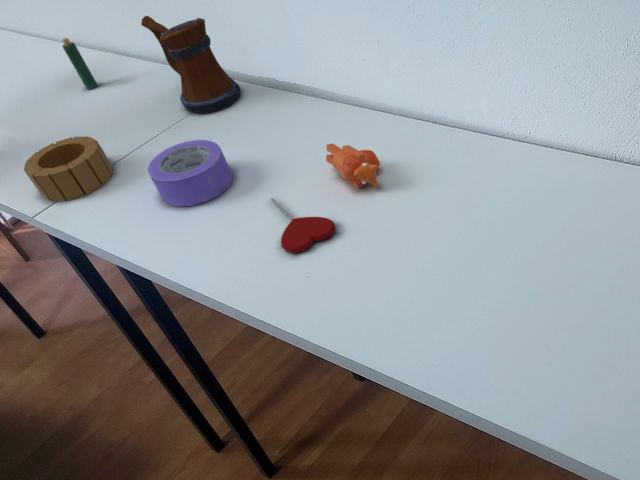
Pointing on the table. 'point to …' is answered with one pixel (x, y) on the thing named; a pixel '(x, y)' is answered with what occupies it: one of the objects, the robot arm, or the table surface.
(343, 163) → the orange toy bird
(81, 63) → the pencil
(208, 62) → the mug
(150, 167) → the tape roll
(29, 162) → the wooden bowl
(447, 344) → the table surface
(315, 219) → the lollipop
